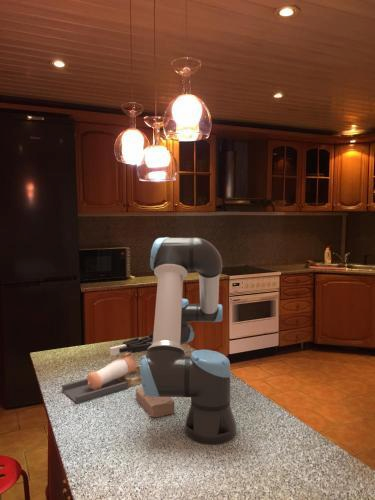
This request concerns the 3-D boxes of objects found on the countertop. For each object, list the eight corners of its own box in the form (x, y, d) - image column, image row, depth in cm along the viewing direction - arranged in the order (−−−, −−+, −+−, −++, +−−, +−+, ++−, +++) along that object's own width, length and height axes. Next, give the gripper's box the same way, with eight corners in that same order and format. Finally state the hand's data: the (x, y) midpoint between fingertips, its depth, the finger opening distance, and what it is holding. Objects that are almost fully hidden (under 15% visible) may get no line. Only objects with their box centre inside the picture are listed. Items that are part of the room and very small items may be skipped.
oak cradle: (138, 371, 165) (137, 364, 165) (153, 379, 157) (153, 372, 156) (113, 378, 158) (112, 370, 158) (127, 387, 149) (127, 379, 149)
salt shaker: (138, 371, 154) (96, 395, 141) (128, 369, 159) (86, 392, 147) (133, 353, 153) (90, 376, 141) (123, 351, 159) (80, 373, 146)
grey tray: (111, 377, 158) (111, 372, 158) (127, 388, 148) (127, 382, 148) (62, 391, 146) (62, 385, 146) (76, 404, 136) (76, 397, 136)
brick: (134, 399, 140) (134, 386, 140) (156, 394, 144) (156, 381, 144) (151, 420, 126) (151, 406, 125) (175, 414, 129) (175, 400, 129)
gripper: (170, 352, 160) (119, 366, 146) (152, 344, 171) (102, 356, 156) (170, 334, 160) (119, 346, 145) (152, 327, 170) (102, 337, 155)
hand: (110, 351), depth 150 cm, fingers closed
